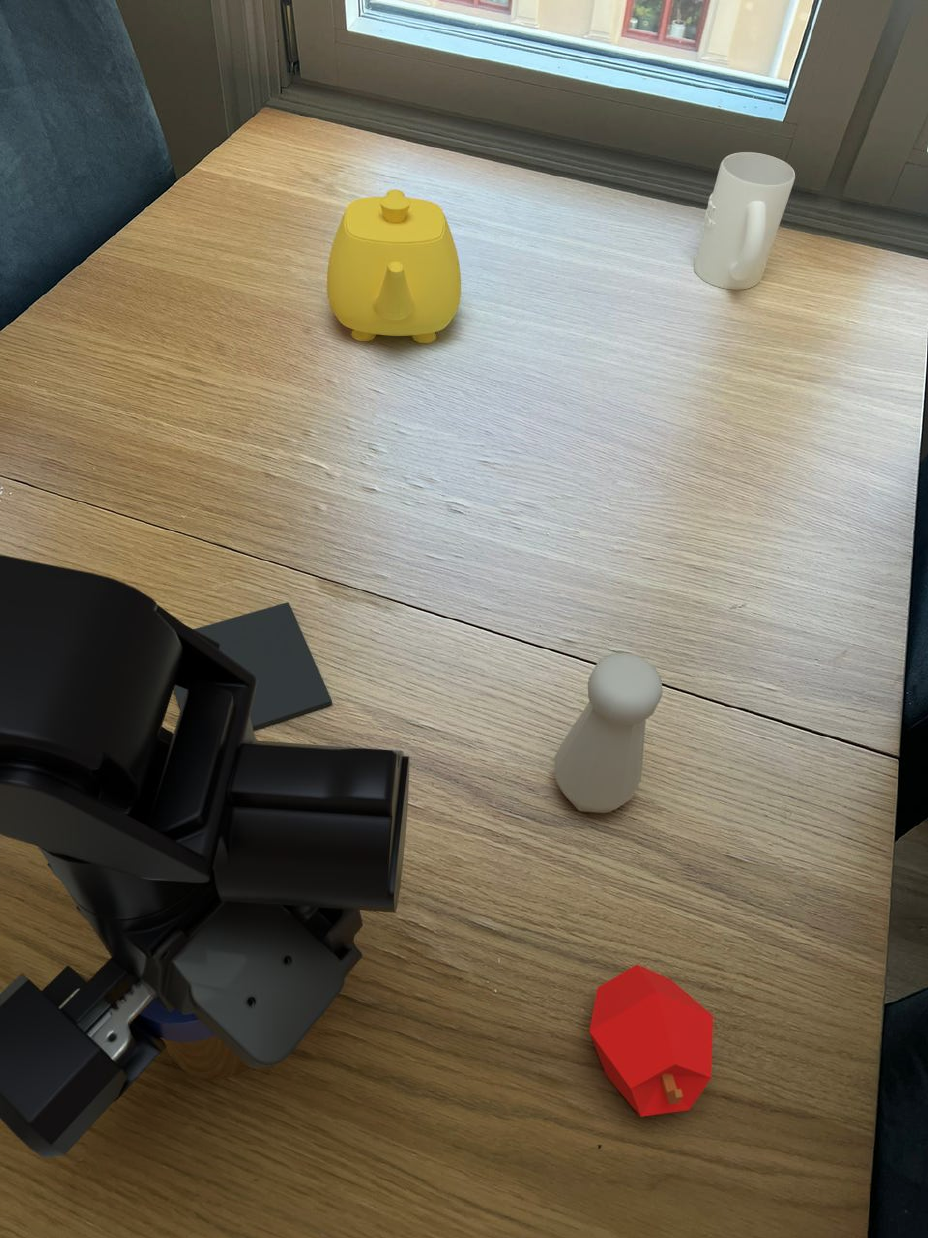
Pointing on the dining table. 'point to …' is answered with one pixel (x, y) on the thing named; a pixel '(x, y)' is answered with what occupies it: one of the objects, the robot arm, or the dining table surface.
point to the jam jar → (205, 1058)
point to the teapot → (394, 269)
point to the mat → (271, 663)
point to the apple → (652, 1041)
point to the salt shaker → (609, 735)
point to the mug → (743, 219)
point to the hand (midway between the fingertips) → (207, 988)
